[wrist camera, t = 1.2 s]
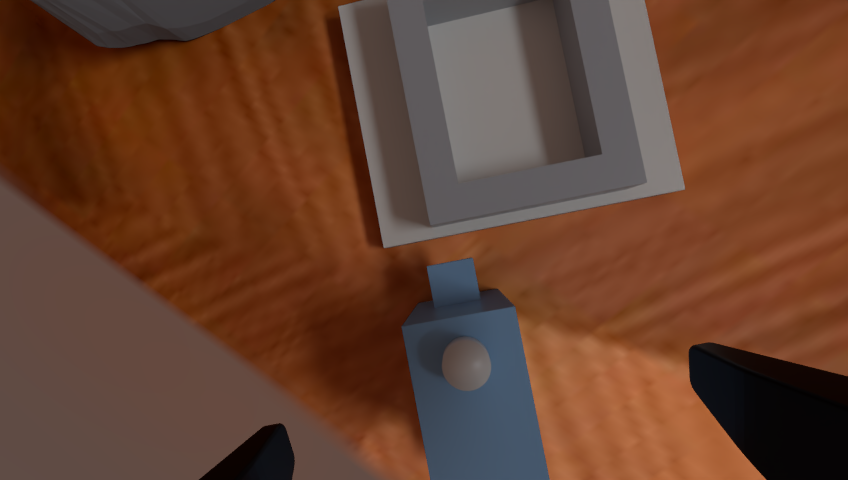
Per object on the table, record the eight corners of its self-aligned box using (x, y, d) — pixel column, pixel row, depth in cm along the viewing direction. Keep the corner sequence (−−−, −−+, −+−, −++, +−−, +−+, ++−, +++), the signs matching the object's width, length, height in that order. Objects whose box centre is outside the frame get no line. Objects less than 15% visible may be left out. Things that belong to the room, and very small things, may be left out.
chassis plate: (673, 192, 19) (713, 182, 16) (387, 247, 20) (375, 248, 17) (621, -50, 19) (651, -104, 16) (343, 18, 20) (324, -21, 17)
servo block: (528, 446, 19) (566, 553, 13) (447, 458, 20) (443, 569, 13) (490, 252, 20) (507, 255, 13) (411, 267, 20) (388, 277, 13)
